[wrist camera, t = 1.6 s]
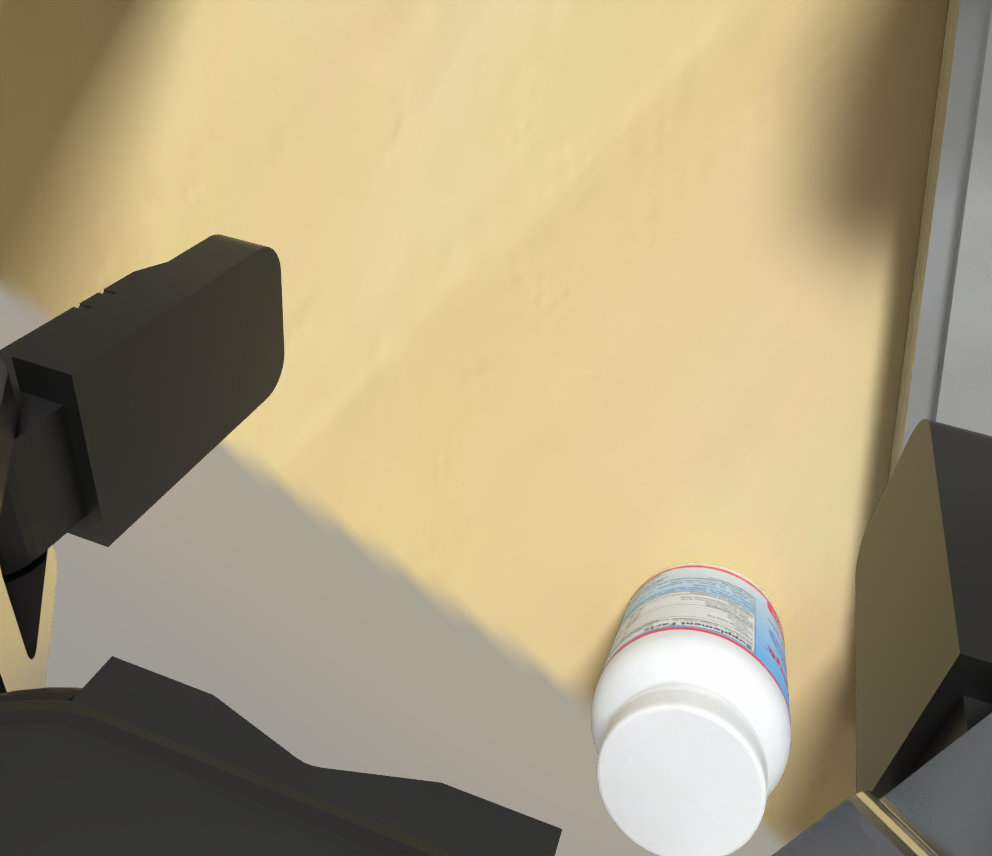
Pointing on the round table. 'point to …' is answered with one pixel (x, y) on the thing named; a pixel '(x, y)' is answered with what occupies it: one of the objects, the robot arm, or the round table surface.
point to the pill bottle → (693, 712)
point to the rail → (954, 244)
